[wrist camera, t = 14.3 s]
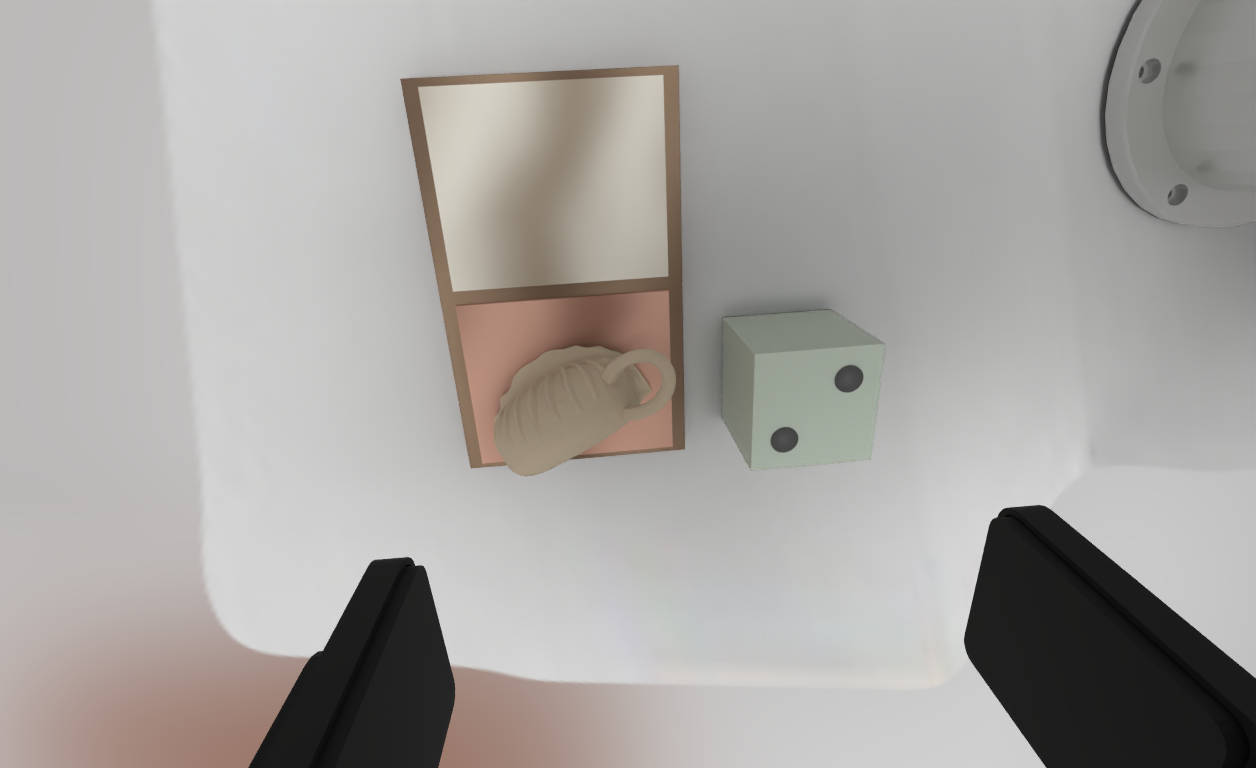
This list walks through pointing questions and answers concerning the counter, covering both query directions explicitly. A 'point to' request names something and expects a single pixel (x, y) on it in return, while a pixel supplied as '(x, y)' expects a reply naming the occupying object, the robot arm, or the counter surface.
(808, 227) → the counter surface
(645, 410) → the decorative ornament
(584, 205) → the brown framed panel
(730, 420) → the die
